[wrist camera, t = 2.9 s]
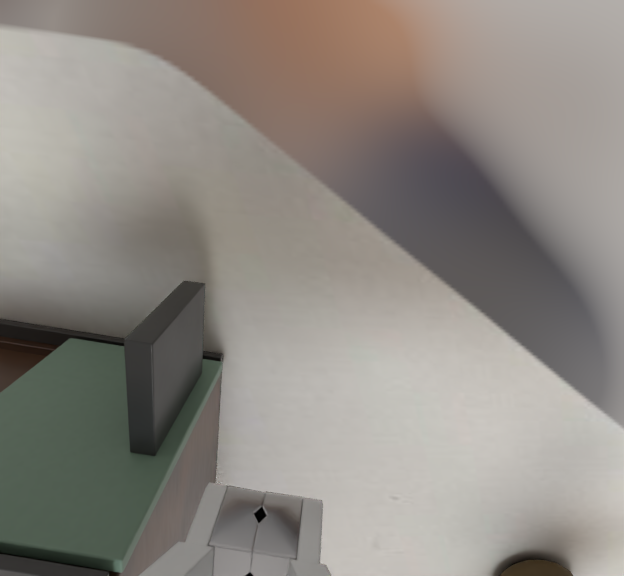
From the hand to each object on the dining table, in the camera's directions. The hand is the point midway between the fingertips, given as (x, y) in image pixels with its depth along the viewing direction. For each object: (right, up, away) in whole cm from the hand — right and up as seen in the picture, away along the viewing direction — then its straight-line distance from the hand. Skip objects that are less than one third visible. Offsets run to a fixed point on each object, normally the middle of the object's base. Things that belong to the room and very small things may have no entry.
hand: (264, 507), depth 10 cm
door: (-7, +4, +10) cm, 13 cm away
